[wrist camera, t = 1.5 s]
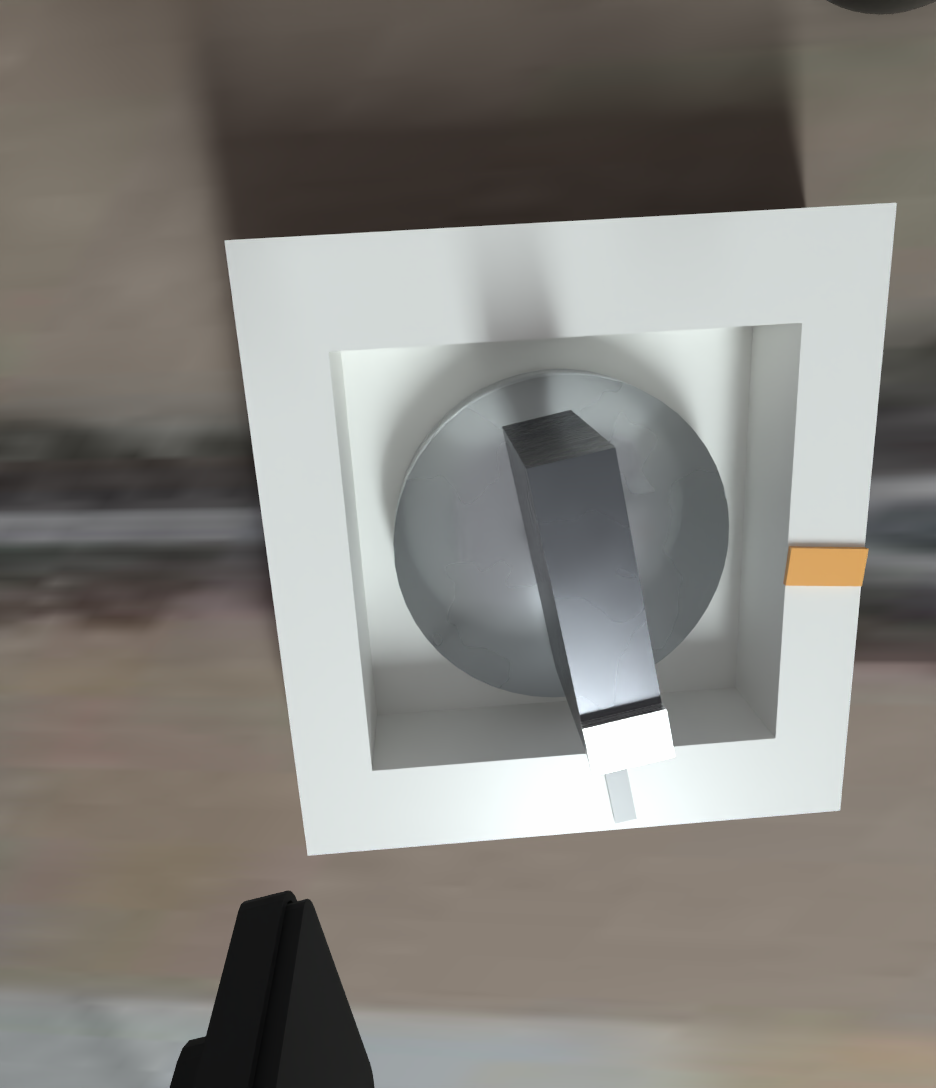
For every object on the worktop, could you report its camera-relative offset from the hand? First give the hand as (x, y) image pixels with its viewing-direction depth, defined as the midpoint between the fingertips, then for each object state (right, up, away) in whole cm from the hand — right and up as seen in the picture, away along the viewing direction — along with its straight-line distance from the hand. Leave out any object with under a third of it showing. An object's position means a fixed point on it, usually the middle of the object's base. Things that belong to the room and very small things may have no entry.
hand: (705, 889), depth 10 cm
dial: (0, +4, +14) cm, 14 cm away
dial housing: (0, +5, +15) cm, 16 cm away
